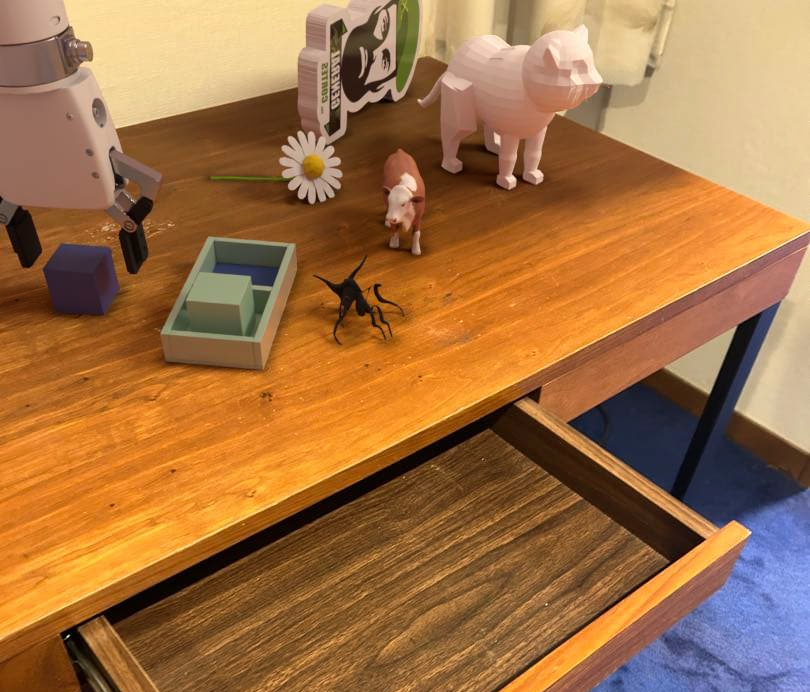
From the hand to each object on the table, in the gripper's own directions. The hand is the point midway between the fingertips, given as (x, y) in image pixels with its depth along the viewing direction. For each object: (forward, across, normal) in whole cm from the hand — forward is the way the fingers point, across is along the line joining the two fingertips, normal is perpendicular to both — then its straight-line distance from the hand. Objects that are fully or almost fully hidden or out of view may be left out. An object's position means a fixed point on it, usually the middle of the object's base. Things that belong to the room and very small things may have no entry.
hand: (85, 263), depth 77 cm
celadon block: (+4, -13, +4) cm, 14 cm away
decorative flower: (+5, -12, -24) cm, 27 cm away
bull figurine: (+5, -27, -16) cm, 32 cm away
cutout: (+5, -19, -47) cm, 51 cm away
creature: (+5, -25, 0) cm, 26 cm away
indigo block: (+4, +1, 0) cm, 4 cm away
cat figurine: (+5, -36, -34) cm, 50 cm away
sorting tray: (+4, -13, 0) cm, 14 cm away
